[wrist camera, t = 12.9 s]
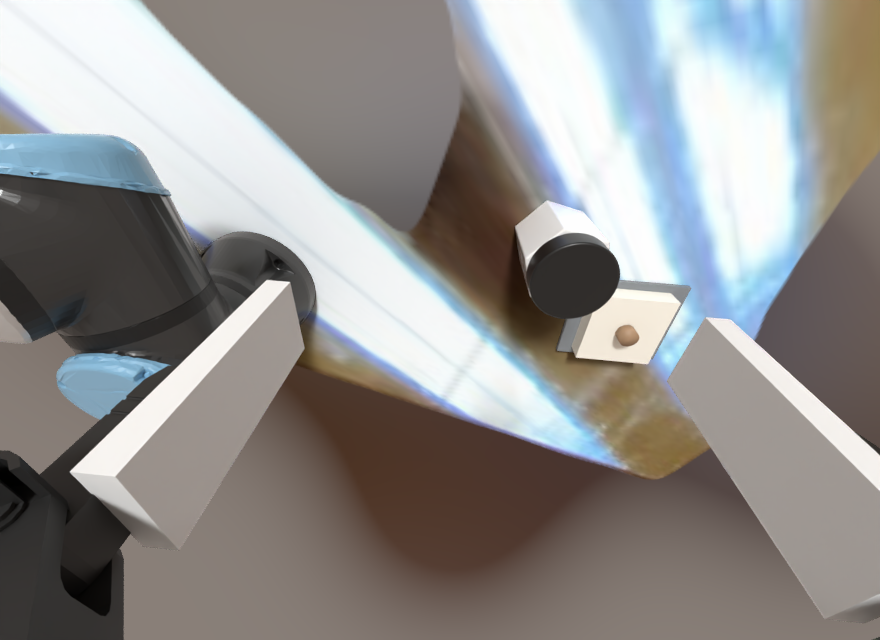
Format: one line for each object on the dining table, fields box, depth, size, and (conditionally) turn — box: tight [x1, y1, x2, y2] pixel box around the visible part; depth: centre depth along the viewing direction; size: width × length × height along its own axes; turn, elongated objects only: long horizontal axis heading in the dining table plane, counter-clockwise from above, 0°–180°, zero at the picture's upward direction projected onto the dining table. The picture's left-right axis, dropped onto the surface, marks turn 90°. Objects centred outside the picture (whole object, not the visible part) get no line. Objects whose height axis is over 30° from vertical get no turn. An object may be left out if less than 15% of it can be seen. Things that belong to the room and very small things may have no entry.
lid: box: [572, 289, 681, 364], centre depth 46 cm, size 10×10×4 cm
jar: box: [515, 201, 620, 319], centre depth 37 cm, size 9×8×12 cm
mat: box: [556, 280, 691, 359], centre depth 47 cm, size 14×12×1 cm
